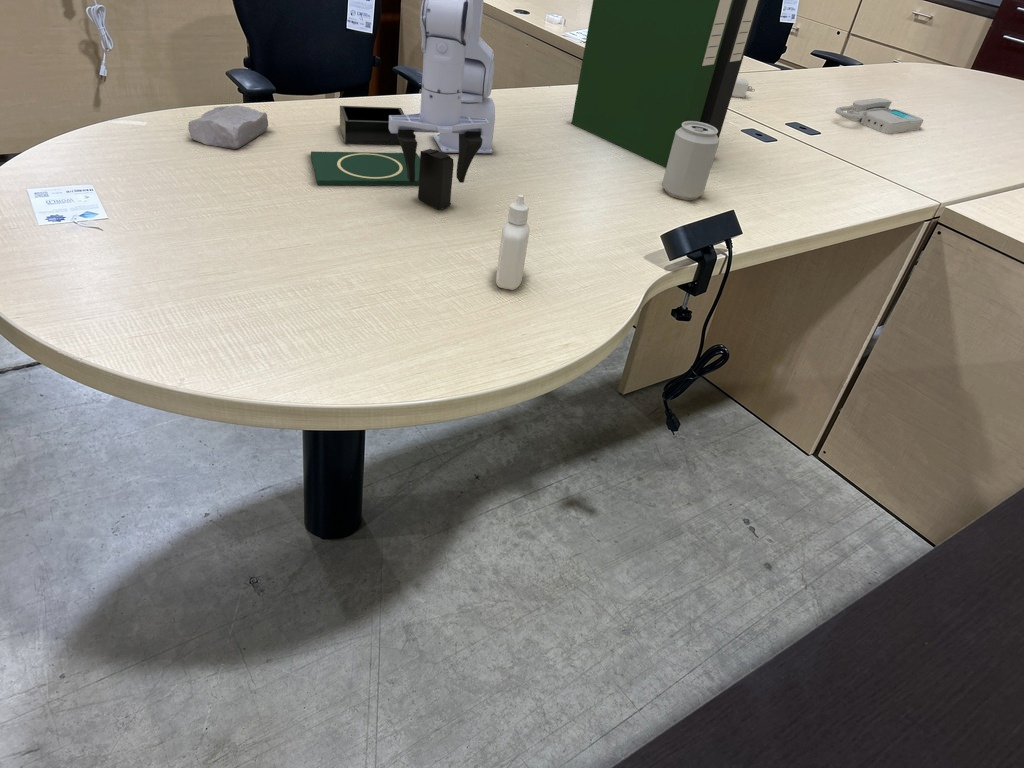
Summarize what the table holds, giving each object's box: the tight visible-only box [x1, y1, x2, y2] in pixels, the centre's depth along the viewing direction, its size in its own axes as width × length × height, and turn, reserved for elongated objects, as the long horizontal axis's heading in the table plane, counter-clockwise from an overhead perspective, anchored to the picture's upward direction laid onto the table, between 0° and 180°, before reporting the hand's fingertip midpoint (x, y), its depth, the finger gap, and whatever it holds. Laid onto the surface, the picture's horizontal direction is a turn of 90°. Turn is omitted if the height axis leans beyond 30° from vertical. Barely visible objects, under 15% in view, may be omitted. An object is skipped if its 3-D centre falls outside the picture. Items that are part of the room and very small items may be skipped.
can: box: [661, 121, 720, 201], centre depth 128 cm, size 8×8×12 cm
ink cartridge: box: [417, 148, 455, 211], centre depth 112 cm, size 5×2×8 cm, turn 49°
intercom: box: [834, 97, 925, 135], centre depth 185 cm, size 13×4×25 cm
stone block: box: [187, 104, 269, 150], centre depth 125 cm, size 12×5×10 cm
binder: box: [571, 0, 761, 168], centre depth 142 cm, size 27×15×32 cm, turn 44°
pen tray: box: [339, 105, 406, 146], centre depth 133 cm, size 11×8×4 cm
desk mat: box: [310, 150, 420, 186], centre depth 121 cm, size 18×12×1 cm, turn 107°
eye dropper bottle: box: [495, 194, 530, 291], centre depth 94 cm, size 4×6×12 cm
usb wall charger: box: [731, 77, 756, 99], centre depth 190 cm, size 4×7×4 cm, turn 96°
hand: (435, 179), depth 112 cm, fingers open, 7 cm apart
